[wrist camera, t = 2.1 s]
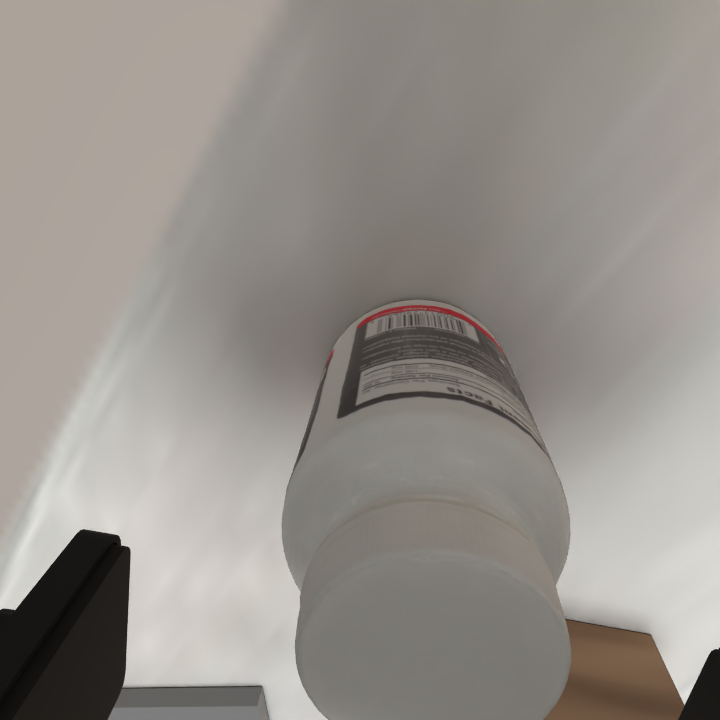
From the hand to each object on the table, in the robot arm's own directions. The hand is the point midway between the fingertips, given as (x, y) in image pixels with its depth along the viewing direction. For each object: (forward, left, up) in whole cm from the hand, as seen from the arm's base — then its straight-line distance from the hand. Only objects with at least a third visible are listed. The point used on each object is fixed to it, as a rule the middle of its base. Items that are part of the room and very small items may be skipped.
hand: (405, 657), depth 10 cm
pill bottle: (-1, 0, -9) cm, 9 cm away
